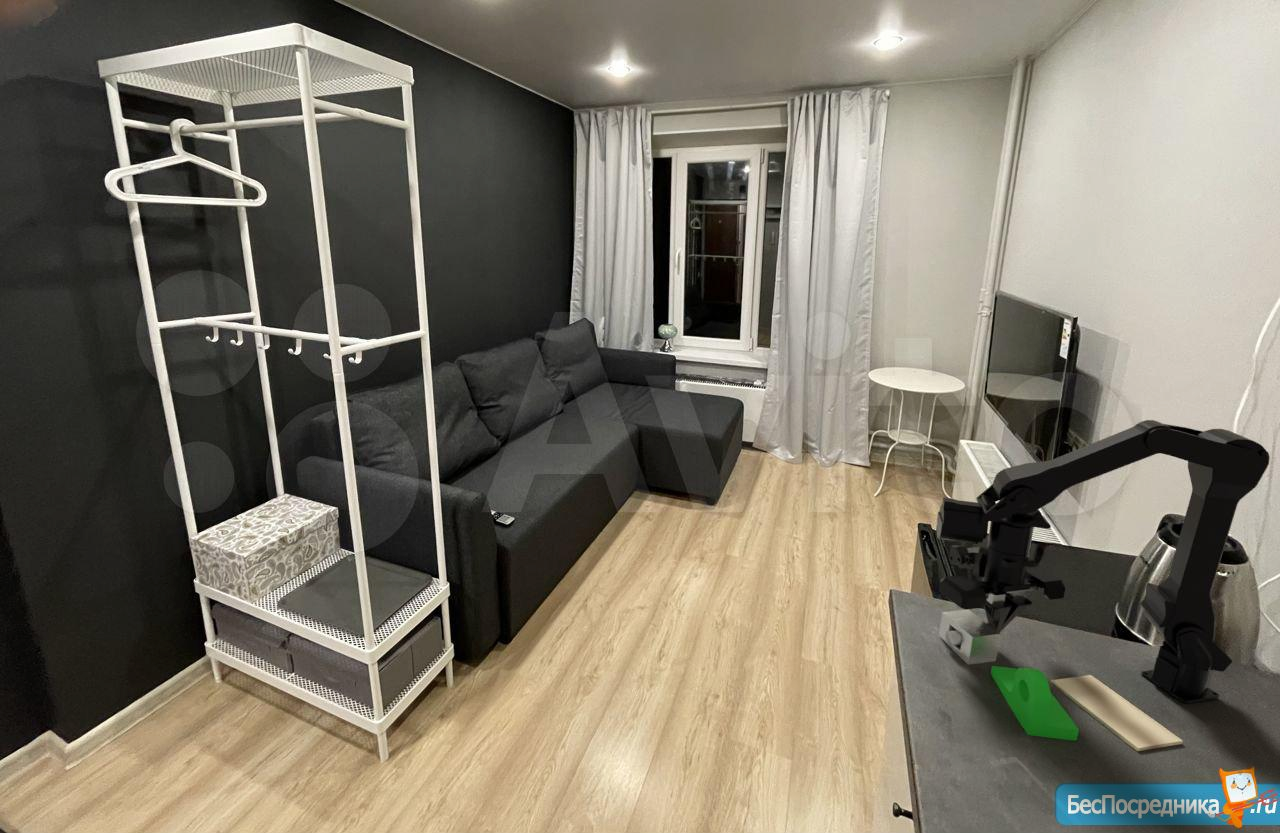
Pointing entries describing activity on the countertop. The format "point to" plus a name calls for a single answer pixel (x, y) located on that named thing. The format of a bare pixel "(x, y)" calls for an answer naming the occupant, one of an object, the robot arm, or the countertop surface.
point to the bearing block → (971, 636)
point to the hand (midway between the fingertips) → (994, 632)
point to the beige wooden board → (1116, 713)
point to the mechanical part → (1034, 703)
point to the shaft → (956, 636)
